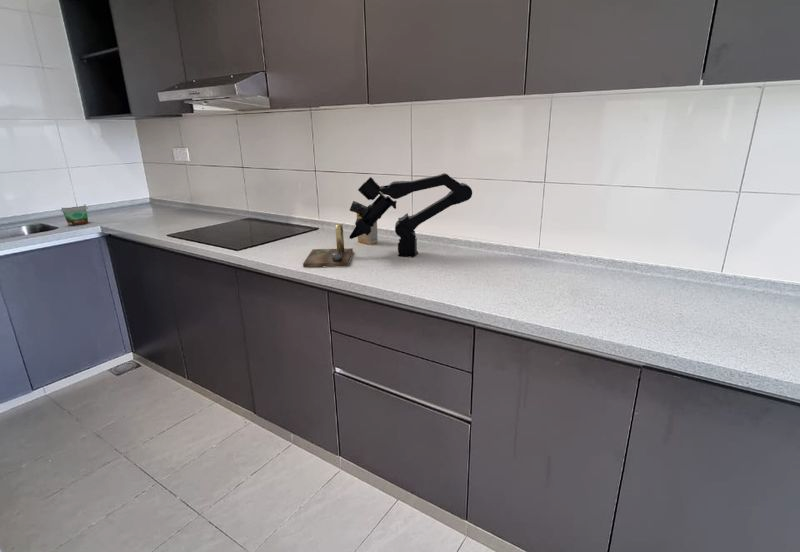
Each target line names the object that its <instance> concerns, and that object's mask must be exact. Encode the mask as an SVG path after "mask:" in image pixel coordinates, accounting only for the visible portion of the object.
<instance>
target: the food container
mask: <svg viewBox="0 0 800 552" xmlns="http://www.w3.org/2000/svg"><path fill="white" fill-rule="evenodd" d="M87 209H88V206H87V204H84V205H81V206H80V205H79V206H71V207H61V209H60V211H61V212H62V213H63V216H64V218H65V221H66V223H67V226H68V225H69V227H70V226H71V227H72V226H73V227H75V226H74V225H77V226H84V225H87V224H89V218H88V210H87Z"/></svg>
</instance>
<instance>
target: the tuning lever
mask: <svg viewBox="0 0 800 552" xmlns="http://www.w3.org/2000/svg"><path fill="white" fill-rule="evenodd" d="M343 225H344V224H342V223H337V224H335V226H334V228H335V238H336V240H335V241H336V249H337V252H334V253H332V260H333V261H341V260H342V252H344V249H345V240H344V226H343Z"/></svg>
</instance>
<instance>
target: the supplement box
mask: <svg viewBox="0 0 800 552" xmlns="http://www.w3.org/2000/svg"><path fill="white" fill-rule="evenodd" d="M358 215H359V214H358V213H356V219H357V218H358V219H359V218H361V217H359V216H358ZM378 240H379V239H378V220H377V221H376V222H375V223H374V225H373V226H371V232H370V234H369V235H366V234H362V235H360V236H358V237H357V242H358V243H361V242H362V244H365V243H366V244H365V245H369V244H372V245H375V244H374V243H376V244H378V243H377V242H379V241H378Z"/></svg>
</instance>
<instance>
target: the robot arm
mask: <svg viewBox="0 0 800 552" xmlns="http://www.w3.org/2000/svg"><path fill="white" fill-rule="evenodd" d="M441 186H444V187H447V189H449V190H450V191H449V192H448V193H446V195H445V196H443V197H442V198H440V199H438V200H437V201H435V202H433V203H432V204H430V205H428V206H426V207H425V208H424V209H422V210H420V211H418V212H417V213H415V214H413V215H409V214H408V212H407V213H405V214H404V215H403V216H401V217H398V219H397V221H396V223H395V224H394V232H395V234H396V236H398V237H400V238H399V240H398V243H397V253H398V255H397V256H398V257H408V256H411V257H410V258H414V256H415V257H416V256H417V254H418V253H419V251H418V240H417V239H418V238H417V236H416V231H415V230H416V229H417V228H418V226H420V225H421V224H423V223H424V222H426V221H427V220H429V219H431V218H433V217H435V216H436V215H438V214H439V213H441V212H443V211H445V210H447V209H448V208H450V207H452V206H455V205H459V204H461V203H464V202H467V201H469V200H470V199H471V198H472V196H473V190H472V187H470V185H468V184H467V183H463V182H461V183H460V182H459V181H457V180H456V179H454V178H453V177H451V176H450V174H448V173H445V172H443V173H441V174H438V175H434V176H429V177H424V178H419V179H414V180H407V181H406V180H400V181H399V180H398V181H395V180H394V181H392V182H390V183H389V184H387V185H382V186H381V185H379V184H378V183H377V182H376V181H375V179H374V178H373V177H372V176H370V177H369V178H368V179H367V180H366V181H364V182H363V183H362V184H361V186H359V188H358V189H357V191H358V192H359V193H360V194H361V195H362V196H364V198H366V199H367V200H368V201H373V202H372V203H371V204H369V205H367V206H366V205H364V204H362V203H360V202H359V201H355V200H353V201H352V203H351V205H350V208H349V211H350V212H352V213H356V214H357V213H358V214H359V215H358V216H359V217H361V218H359V219H358V218H357V217H356V219H355V222H354V224H355V227H354V229H353V230H352V231H351V233H350V235H349V239H350V240H352V239H355V238H358V236H360V235H362V234H366V235H369V234H370V232H371V226H373V225H374V223H375V222H376V221H377V222H378V220H380V219H381V218H382V216H383V215H384V214H385V213H386V212H387V211H388V210H389V209H390V208H391V207H392V208H393V209H394V210H397V200H398V199H401V198H403V197H405V196H407V195H409V194H411V193H414V192H415V193H416V192H419V191H423V190H427V189H433V188H437V187H441Z"/></svg>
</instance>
